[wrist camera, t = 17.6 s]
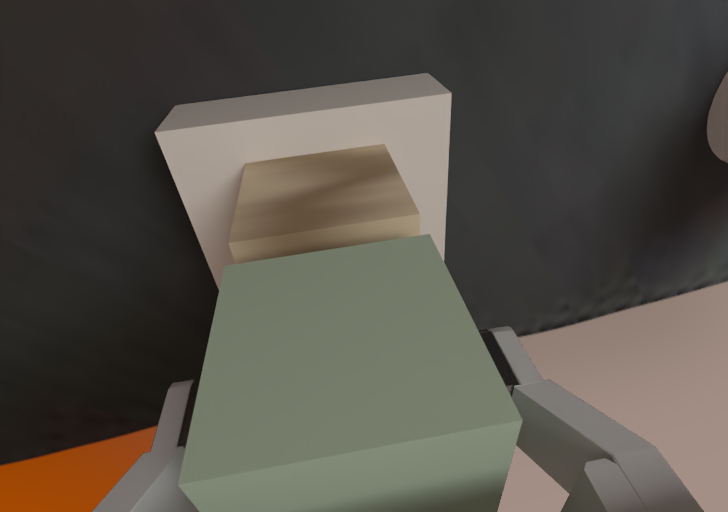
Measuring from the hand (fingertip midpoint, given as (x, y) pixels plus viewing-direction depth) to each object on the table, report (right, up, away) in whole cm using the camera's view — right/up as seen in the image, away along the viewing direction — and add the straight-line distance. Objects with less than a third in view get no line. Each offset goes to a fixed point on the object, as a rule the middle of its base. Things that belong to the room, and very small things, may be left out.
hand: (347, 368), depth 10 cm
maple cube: (-1, +4, +6) cm, 8 cm away
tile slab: (-2, +6, +8) cm, 11 cm away
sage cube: (0, +1, +1) cm, 2 cm away
